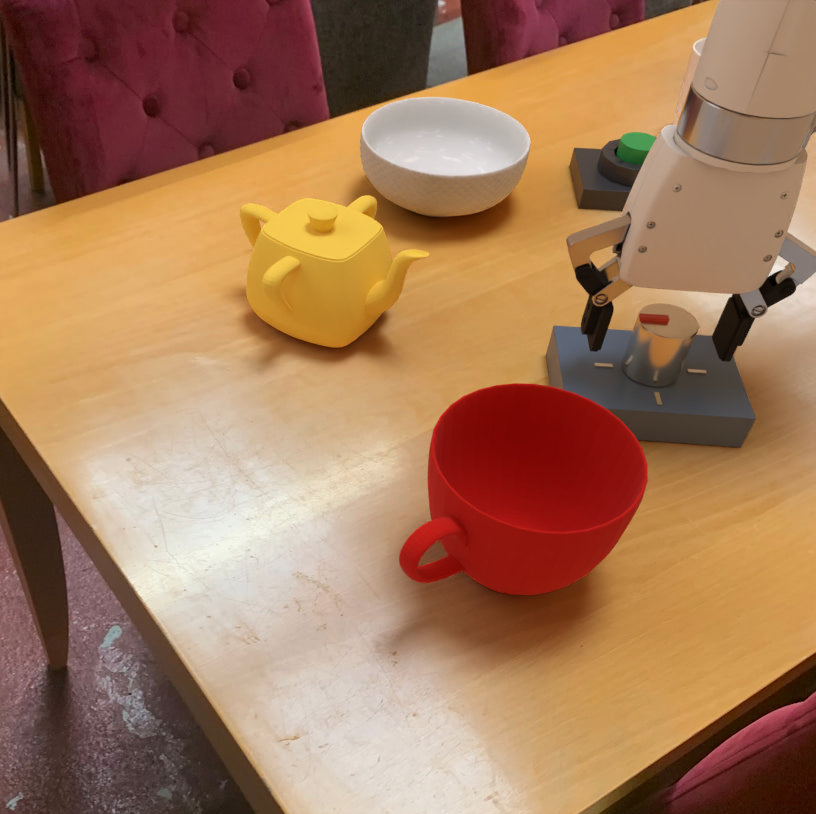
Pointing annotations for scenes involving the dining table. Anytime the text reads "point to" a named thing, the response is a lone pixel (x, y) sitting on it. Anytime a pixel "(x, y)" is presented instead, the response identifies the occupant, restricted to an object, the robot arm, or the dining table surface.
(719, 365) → the panel
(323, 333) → the teapot
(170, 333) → the dining table surface
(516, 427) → the ceramic cup
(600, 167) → the button block
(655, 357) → the program dial
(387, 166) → the cereal bowl
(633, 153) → the button
